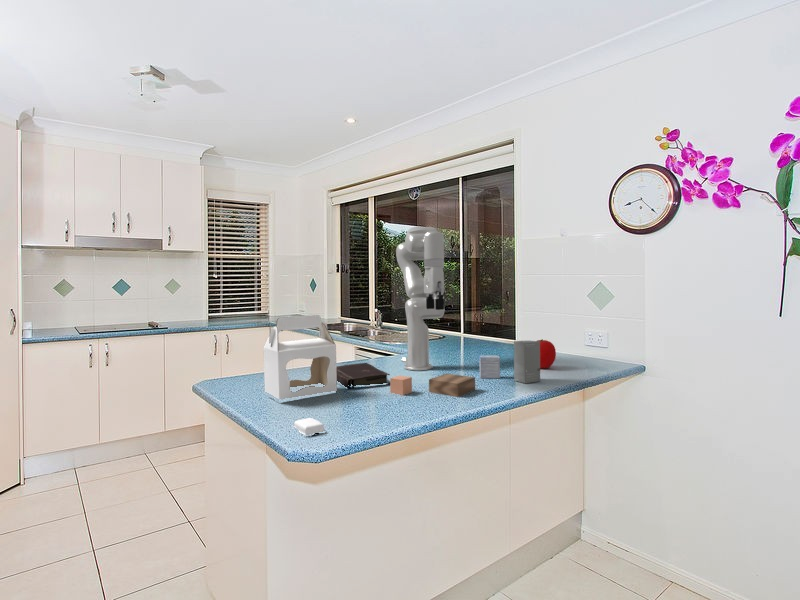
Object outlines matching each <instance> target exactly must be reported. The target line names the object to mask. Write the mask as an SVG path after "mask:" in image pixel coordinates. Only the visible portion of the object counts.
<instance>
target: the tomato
mask: <svg viewBox="0 0 800 600" xmlns="http://www.w3.org/2000/svg"><path fill="white" fill-rule="evenodd" d="M536 341H539V342H540V369H548V368H550V367H552V366H553V364H554V363H555V360H556V357H557V351H556V347H555V345H554V344H553V343H552V342H551V341H550V340H547V339H544V340H543V339H542V338H541V339H538V340H536Z"/></svg>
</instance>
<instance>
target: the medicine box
mask: <svg viewBox="0 0 800 600" xmlns="http://www.w3.org/2000/svg"><path fill="white" fill-rule="evenodd" d="M500 368H501V357H500V356H499V355H479V379H500V378H501V369H500Z"/></svg>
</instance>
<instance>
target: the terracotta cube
mask: <svg viewBox="0 0 800 600" xmlns="http://www.w3.org/2000/svg"><path fill="white" fill-rule="evenodd" d="M412 381H413V378H412V377H411V376H405V375H396V376H393V377H390V378H389V383H390V384H389V387H390V389H389V390H390V391H389V393H390V394H392V393H395V394H394V395H397V394H400V395H399V396H405V394H406V395H407V394H411V393H412V392H413V385H412V384H413V382H412Z"/></svg>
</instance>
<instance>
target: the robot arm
mask: <svg viewBox="0 0 800 600" xmlns="http://www.w3.org/2000/svg"><path fill="white" fill-rule="evenodd" d="M444 238H445V237H444V234H443V233H442V232H441V231H439V230H438V229H437V228H436V227H433V226H412V227H410V228H409V229H408V230H407V231H406V233H405V238H404V242H401V243H399V244H398V245H397V246H396V249H395V255H396V260H397V264H398V266H399V269H400V270H401V272H402V274H403V282H404V289H405V293H406V296H407V297H408V298H409V299H406V300H407V301H406V302H405V304H404V308H405V309H404V311H405V316H406V328H407V333H406V334H407V356H406V357H405V356H403V357H402V359H401V362H402V363H405V364H404V366H403V367H404V369H405V370H409V371H428V370H432V369H433V365H432V364H431V363H430V356H429V355H430V342H429V341H430V339H429V338H430V337H429V335H430V334H429V333H430V331H429V327H428V325H427V324H426V323H425V321H424V320H426V319H427V320H429V319H430V320H431V319H434V320H436V319H441V318H442V317H443V316H444V314H445V293H446V292H445V290H446V289H445V288H446V287H445V278H444V277H445V276H444V268H445V249H444V248H445V247H444V246H445V243H444V242H445V239H444ZM414 261H423V262H424V263H423V264H424V266H423V267H424V274H423V275H422V270H421V269H420V267H419V266H418V264H416V263H415V262H414Z"/></svg>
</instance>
